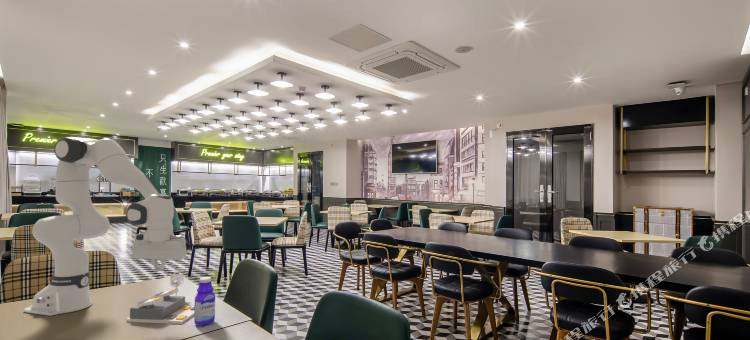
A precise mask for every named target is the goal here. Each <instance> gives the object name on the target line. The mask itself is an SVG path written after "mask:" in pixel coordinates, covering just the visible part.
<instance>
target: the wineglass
mask: <svg viewBox="0 0 750 340" xmlns="http://www.w3.org/2000/svg"><path fill="white" fill-rule="evenodd" d="M168 280H169V286H171V287H172V288H177V289H178V288H179V287H181V286H183V283H184V280H185V277H184V272H183V271H173V272H171V273H170V275H169V279H168ZM177 294H178V292H176V293H175V296H178V295H177Z"/></svg>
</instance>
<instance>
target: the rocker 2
mask: <svg viewBox="0 0 750 340" xmlns="http://www.w3.org/2000/svg"><path fill="white" fill-rule="evenodd" d="M176 292H177V293H178V292H179V288H178V287H177V288H176V287H174V288H173V289H170V290H168V291H167V290H166V291H161V292H158V293H156V294H155V295H153V296H154V298H158V297H164V296H168V295H170V296H173V295H174V294H176Z"/></svg>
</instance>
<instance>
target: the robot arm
mask: <svg viewBox="0 0 750 340" xmlns="http://www.w3.org/2000/svg"><path fill="white" fill-rule="evenodd" d="M53 150H54V155H55V157H56V158H57V159H58V161H57V162H58V163H57V166H56V171H55V200H56V202H57V203H59V204H60V205H62V206H64V207H67V208H69V209H70V210H71V212H72V214H65V215H64V214H62V215H61V214H60V215H52V216H47V217H43V218H39V219H38V220H37V221H36V222H35V223H34V225H33V227H32V236H33V237H34V239H35V240H36V241H37V242H38V243H40V244H43V245H44V246H46V247H47V248H48V249H49V250H50V252H51V254H52V256H53V263H54V271H53V272H54V274H53V275H51V276H49V277H47V281H50V282H49V284H48V285H47V286H46V287H44V288H42V289H41V290H40V291H38V292H37V293H36V294H34V295H33V299H32V303H31V305H29V306H27V307H25V308H24V309H23V313H30V314H37V315H42V316H50V317H51V316H56V315H59V314H66V313H72V312H77V311H81V310H83V309H86V308H89V307H91V306H92V305H93V301H92V299H91V293H90V292H91V291H90V284H89V283H90V278H91V277H90V276H91V273H90V270H89V269H90V266H89V265H90V264H89V263H90V255H89V253H88V252H87V251H86V250H84V249H82V248H78V247H75V243H74V241H80V240H81V241H82V240H90V239H95V238H98V237H101V236H104V235H106V233H108V231H109V229H110V220H109V218H108V217H107V216H106V214H104V213H102V212H100V211H99V210H98V209H97V208H96V207H95V206H94V204H93V202H92V199H91V194H90V193H91V192H90V191H91V190H90V169H91V168H92V167H95V168H96V169H98V170H99V172H100V174H101V175H102V176H103V178H105V179H106V180H107V181H109V182H111V183H113V184H117V185H121V186H122V185H123V186H127V187H130V188H132V189H135V190H136V191H138V192H139V193H140V194H141V195H142V196H143V198H144V199H142V200H140V201H137V202H132V203H131V204H129V206H128V207H127V209H126V213H125V217H126V221H127V223H129V224H130V225H131V226H133V227H134V226H135V227H143V226H147V228H146V230H145V231H143V232H141V233H137V234H134V236H133V240H134V242H133V244H132V248H131V256H132V258H133V259H136V260H150V262H151V264H152V265H153V271H155V272H156V271H157V272H162V271H164V270H165V265H166V264H167V262H168V261H183V260H184V259H185V258H187V240H186V237H184V236H182V235H174V225H173V219H174V216H175V214H176V213H175V212H176V211H175V209H176V208H175V206H174V200H173V198H172V196H170V195H168V194H166V193H162V192H161V191H160V190H159V189H158V188H157V187H156V185H155V184H154V182H153V181H152V179H150V177H149V176H148V175H147V174H146V173H144V172H143V171H142V170H140V169H139V168H138V167H137V166H136V165H135V164H134V163H133V162H132V160H131V159H130V158H129V156H128V154H127V153H126V151H125V150H124V149H123V147H121V145H120V144H119V143H118V142H117V141H116V140H114V139H112V138H101V139H96V138H95V139H94V138H90V137H88V138H86V137H73V136H65V137H62V138H60V139H58V141H56V143H55V145H54V149H53ZM159 260H160V263H161V264H159V262H158V261H159Z"/></svg>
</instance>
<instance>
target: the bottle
mask: <svg viewBox="0 0 750 340" xmlns="http://www.w3.org/2000/svg"><path fill="white" fill-rule="evenodd" d="M198 283H199V284H198V287H197V288H196V291H197V293H196V295H195V297H194V306H195V312H194V316H193V317H194V320H193V321H194V324H195V325H196V326H198V327H204V326H206V325H209V324H212V323H214V321H215V318H216V294H215V293H214V287H213V285H212V277H211V276H202V277H200V278H199V282H198Z"/></svg>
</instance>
